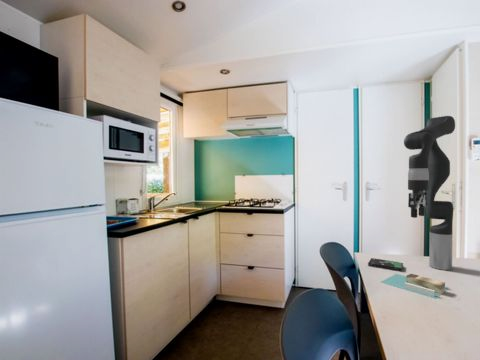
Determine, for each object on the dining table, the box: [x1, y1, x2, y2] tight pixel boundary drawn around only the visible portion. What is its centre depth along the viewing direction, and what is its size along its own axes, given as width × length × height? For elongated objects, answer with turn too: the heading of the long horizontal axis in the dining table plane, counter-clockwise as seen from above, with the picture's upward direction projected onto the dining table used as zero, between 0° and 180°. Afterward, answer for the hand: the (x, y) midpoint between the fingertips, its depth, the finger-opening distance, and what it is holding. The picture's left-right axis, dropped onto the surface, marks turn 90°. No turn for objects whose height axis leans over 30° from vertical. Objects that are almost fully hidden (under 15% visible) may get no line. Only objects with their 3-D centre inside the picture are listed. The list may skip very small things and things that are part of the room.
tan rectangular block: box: [405, 273, 446, 295], centre depth 109 cm, size 12×4×4 cm, turn 37°
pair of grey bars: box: [405, 283, 435, 297], centre depth 109 cm, size 13×10×2 cm
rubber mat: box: [380, 273, 450, 300], centre depth 112 cm, size 16×20×1 cm
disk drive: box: [367, 257, 404, 273], centre depth 136 cm, size 10×3×15 cm
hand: (417, 216), depth 117 cm, fingers open, 8 cm apart
